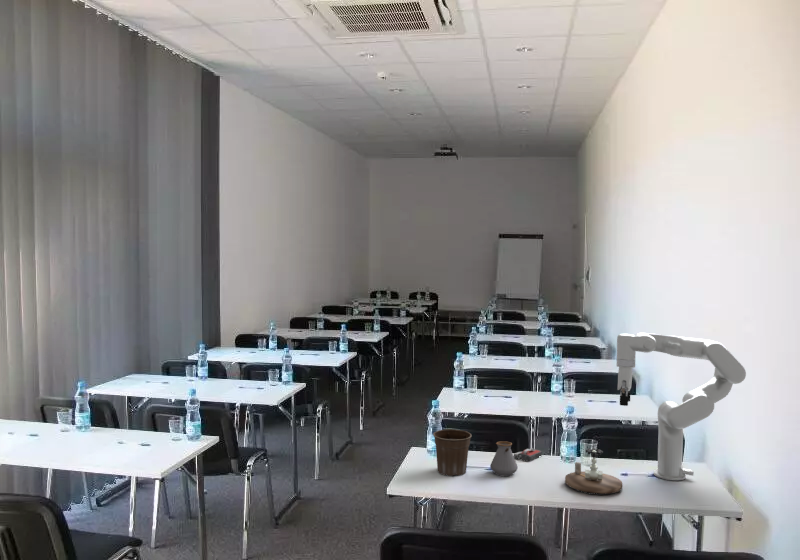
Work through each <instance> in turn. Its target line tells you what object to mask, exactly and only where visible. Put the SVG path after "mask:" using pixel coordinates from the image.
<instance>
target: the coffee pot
mask: <svg viewBox="0 0 800 560" xmlns="http://www.w3.org/2000/svg"><path fill="white" fill-rule="evenodd" d="M495 444H496V446H497V449H496V452H495V454H494V456H493V459H492V461H491V463H490V469H491V471H492V472H493V473H494V474H495V475H497V476H501V477H511V476H513V475H514V474H515V473H516V472H518V471H517V470H518V464H517V462H516V460H515V459H516V458H514V454H513V451H512V449H511V447H512V445H513V443H512V442H510V441H504V440H503V441H497V442H496V443H495Z"/></svg>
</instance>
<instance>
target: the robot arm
mask: <svg viewBox="0 0 800 560" xmlns="http://www.w3.org/2000/svg"><path fill="white" fill-rule="evenodd" d="M636 352H639V353H646V354H648V353H651V352H658V353H662V354H667V355H670V356H672V357H673V356H674V357H678V358H687V359H697V360H705V361H708V362H710V363H711V364H712V365H713V367H714V373H713V377H711V379H710V380H709V381H708V382H706V383H704V384H703V385H701V386H698V387H697V388H694V389H693V390H689V391H688V392H686V393H685V394H684V395H683V397H682V403H680V404H679V403H677V402H676V401H672V400H666V401H663V402H662V403H661V404H660V405H659V407H658V409H657V423H658V436H657V437H658V439H657V440H658V444H657V468H656V469H654V470H653V475H654V476H655V477H656V478H658V479H663V480H667V481H683V480H685V479H686V477H687V475H688V476H693V477H694V470H692V469H687V468H685V467H684V465H683V446H684V445H683V443H684V441H683V440H684V431H683V429H686V428H689V427H690V426H693V425H694V424H696V423H699V422H701V421H702V420H703V421H704V419H706V418H708V417H709V416H710V415H712V414H713V412H714V410H715V404H716V403H718V402H720V401H721V400H723V399H725V398H726V397H727V396H728V395H729V394H730V393H731V390H732V387H733V384H734V385H736V384H741V383H742V382H743V381H744V380H745V379H746V376H747V372H746V369H745V367H744V366H743V365H742V363H740V361H739V360H738V359H737V358H736V357H735V356H734V355H733V354H732V353H731V352H730V350H728V349H727V347H726V346H725V345H724V344H722V343H721V342H719V341H715V340H712V339H705V338H696V337H686V336H679V335H678V336H677V335H666V334H657V333H650V332H649V333H647V332H638V333H636V334H635V335H634V334H630V333H620V334H618V335H617V338H616V367H617V368H618V370H617V371H618V373H617V391H620V395H619V405H620V406H624V407H628V406H629V402H631V389H632V383H633V382H632V381H633V369H634V368H636Z"/></svg>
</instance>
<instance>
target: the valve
mask: <svg viewBox="0 0 800 560" xmlns="http://www.w3.org/2000/svg"><path fill="white" fill-rule="evenodd" d="M586 453H587V455H590V456H591V465H589V469H584V472H585V479H591V480H594V481H595V480H601V481H602V473H603V470H598V469H599V467H598V465H597V464H596V463H597V459H596V458H597V457H599V456H601V455H603V454H604V451H603V450H601V449H596V448H594V447H593V448H587V449H585V454H586Z"/></svg>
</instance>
